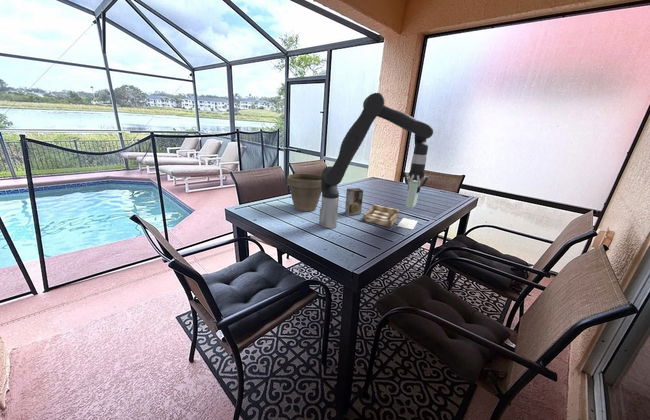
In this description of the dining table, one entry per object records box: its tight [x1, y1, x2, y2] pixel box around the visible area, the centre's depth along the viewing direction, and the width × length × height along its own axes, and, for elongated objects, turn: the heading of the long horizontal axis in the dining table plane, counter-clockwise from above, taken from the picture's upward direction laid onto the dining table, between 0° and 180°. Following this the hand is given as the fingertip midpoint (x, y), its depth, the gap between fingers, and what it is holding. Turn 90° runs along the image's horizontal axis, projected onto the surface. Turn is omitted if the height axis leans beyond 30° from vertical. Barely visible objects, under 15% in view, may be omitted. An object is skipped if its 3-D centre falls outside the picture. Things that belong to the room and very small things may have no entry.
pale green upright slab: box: [404, 180, 419, 209], centre depth 146 cm, size 12×4×14 cm, turn 151°
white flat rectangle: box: [396, 217, 418, 231], centre depth 152 cm, size 9×16×1 cm, turn 151°
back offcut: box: [373, 211, 390, 221], centre depth 155 cm, size 9×3×5 cm, turn 59°
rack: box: [362, 203, 400, 228], centre depth 156 cm, size 17×17×6 cm
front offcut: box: [371, 214, 387, 220], centre depth 152 cm, size 9×3×4 cm, turn 55°
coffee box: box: [344, 187, 364, 216], centre depth 162 cm, size 9×6×16 cm
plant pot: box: [286, 172, 322, 212], centre depth 166 cm, size 25×25×22 cm
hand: (413, 192), depth 145 cm, fingers closed on pale green upright slab, 4 cm apart
